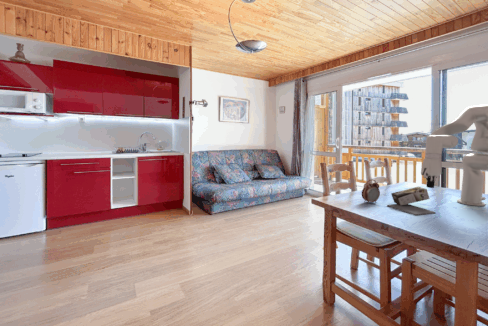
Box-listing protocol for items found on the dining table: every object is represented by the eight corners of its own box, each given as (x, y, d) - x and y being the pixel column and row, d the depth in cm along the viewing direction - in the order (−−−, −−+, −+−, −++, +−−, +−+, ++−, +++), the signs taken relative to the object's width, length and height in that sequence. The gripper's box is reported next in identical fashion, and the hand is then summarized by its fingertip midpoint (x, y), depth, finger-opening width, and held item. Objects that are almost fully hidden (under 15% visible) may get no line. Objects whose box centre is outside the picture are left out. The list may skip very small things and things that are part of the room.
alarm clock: (366, 204, 145) (367, 180, 144) (360, 202, 150) (361, 179, 148) (380, 203, 148) (381, 180, 147) (374, 201, 153) (375, 178, 151)
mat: (405, 204, 145) (405, 203, 145) (435, 213, 128) (435, 212, 128) (387, 206, 142) (387, 204, 141) (415, 215, 124) (415, 214, 124)
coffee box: (426, 188, 135) (397, 195, 138) (430, 199, 135) (400, 206, 138) (418, 186, 144) (390, 193, 147) (421, 195, 144) (393, 202, 147)
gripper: (435, 155, 140) (433, 185, 142) (416, 156, 137) (414, 186, 139) (449, 156, 133) (446, 188, 135) (429, 157, 129) (426, 189, 131)
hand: (430, 187), depth 137 cm, fingers closed
